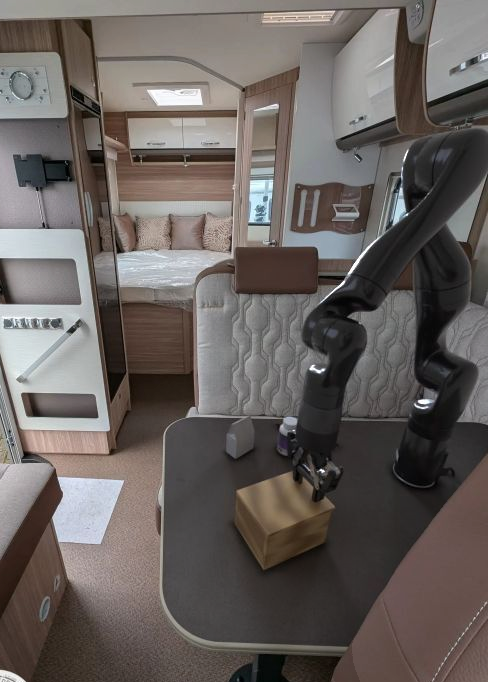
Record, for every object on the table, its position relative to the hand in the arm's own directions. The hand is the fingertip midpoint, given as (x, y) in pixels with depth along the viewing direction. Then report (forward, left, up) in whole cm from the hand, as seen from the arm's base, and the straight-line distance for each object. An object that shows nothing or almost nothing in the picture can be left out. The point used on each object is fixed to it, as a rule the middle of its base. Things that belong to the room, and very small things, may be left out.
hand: (306, 488), depth 73 cm
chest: (+5, +2, -10) cm, 11 cm away
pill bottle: (-4, -24, -10) cm, 26 cm away
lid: (+5, +2, -1) cm, 5 cm away
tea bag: (+9, -25, -10) cm, 29 cm away
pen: (-11, -30, -10) cm, 33 cm away
